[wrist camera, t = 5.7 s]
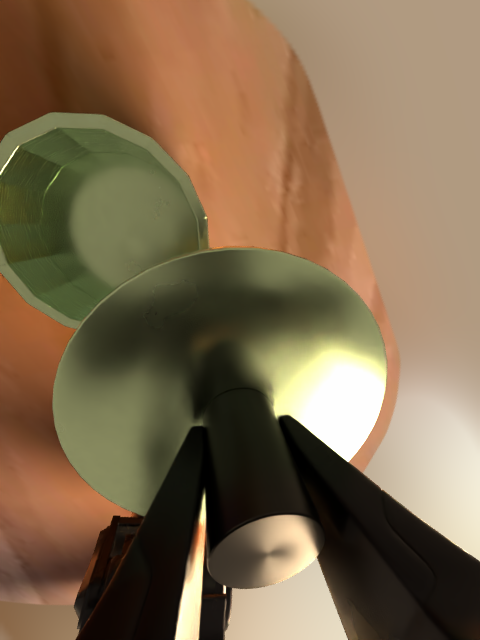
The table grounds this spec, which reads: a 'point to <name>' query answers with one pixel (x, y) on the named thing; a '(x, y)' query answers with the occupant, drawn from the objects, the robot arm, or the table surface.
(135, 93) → the table surface
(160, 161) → the pot
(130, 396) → the lid
